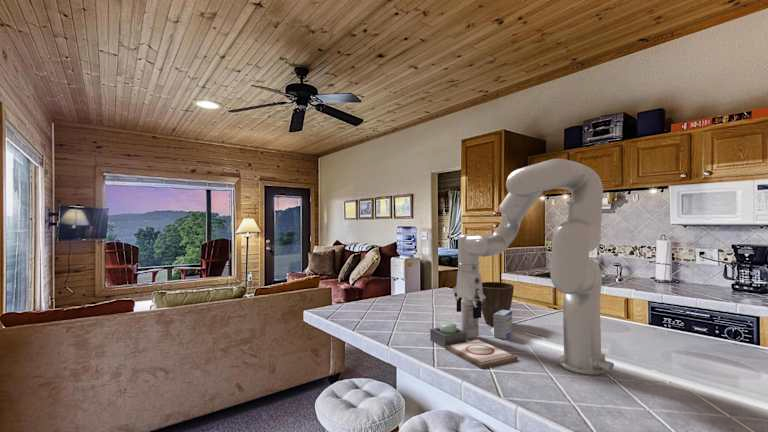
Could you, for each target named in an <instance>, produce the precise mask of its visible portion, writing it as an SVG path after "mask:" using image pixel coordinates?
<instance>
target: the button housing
mask: <svg viewBox="0 0 768 432" xmlns="http://www.w3.org/2000/svg"><path fill="white" fill-rule="evenodd" d="M429 334H430V335H429V336H430V338H429V339H430V341H432V342H433V343H435V344H436V345H438V346H441V347H443V348H445V346H446V345H451V344H456V343H461V342H466V341H468V339H466V332H465V331H462V329H461V328H460V329H459V328H457V327H456V333H451V334H443V333H441V332H440V326H439V327H434V328H430V332H429Z"/></svg>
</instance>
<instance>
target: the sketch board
mask: <svg viewBox="0 0 768 432" xmlns="http://www.w3.org/2000/svg"><path fill="white" fill-rule="evenodd" d="M445 350H446V351H448V352H450V353H452V354H454V355H455V356H457V357H459V358H460V359H462V360H465V362H468V363H470V364H472V365H473V366H475V367H478V369H485V368H490V367H494V366H498V365H503V364H508V363H511V362H517V361H518V356H517V355H516V354H514V353H511V352H509V351H506V350H504V349H502V348H500V347H497V346H495V345H494V344H493V345H492V344H491V343H488V342H486V341H484V340H482V339H480V338H477V339H471V340H467V341H466V342H461V343H456V344H451V345H446V346H445Z"/></svg>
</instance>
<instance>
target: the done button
mask: <svg viewBox="0 0 768 432" xmlns="http://www.w3.org/2000/svg"><path fill="white" fill-rule="evenodd" d="M439 327H440V332H441V333H443V334H451V333H456V328H457V324H456V323H454V322H441V323H439Z"/></svg>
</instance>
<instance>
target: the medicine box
mask: <svg viewBox="0 0 768 432" xmlns="http://www.w3.org/2000/svg"><path fill="white" fill-rule="evenodd" d="M493 322H494V326H493V337H494V338H496V339H497V338H498V339H502V340H507V339H508V338H509V337H510V336H511V335H512V334H513V333H512V332H513V311H512V310H510V311H509V310H500V311H498V312H496V313H495V314H493ZM511 333H512V334H511Z"/></svg>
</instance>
